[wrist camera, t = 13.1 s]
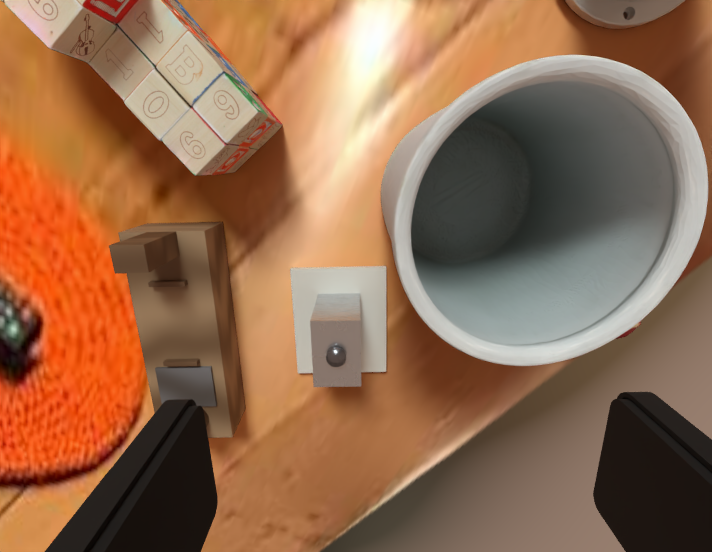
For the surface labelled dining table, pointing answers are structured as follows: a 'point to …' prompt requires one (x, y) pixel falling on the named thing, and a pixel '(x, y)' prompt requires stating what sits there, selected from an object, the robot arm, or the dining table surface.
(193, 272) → the plane body
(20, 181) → the dining table surface
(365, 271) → the pad
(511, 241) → the utensil holder
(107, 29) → the stack of blocks
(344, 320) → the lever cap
